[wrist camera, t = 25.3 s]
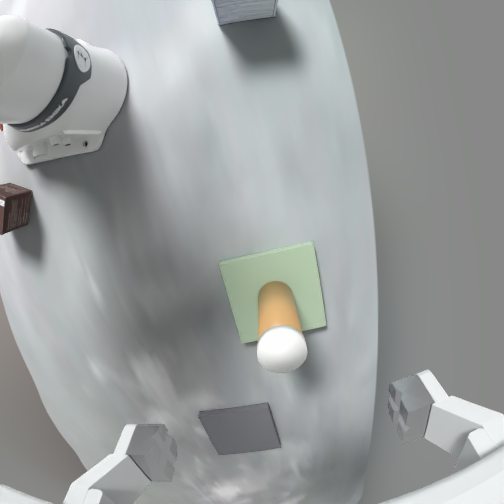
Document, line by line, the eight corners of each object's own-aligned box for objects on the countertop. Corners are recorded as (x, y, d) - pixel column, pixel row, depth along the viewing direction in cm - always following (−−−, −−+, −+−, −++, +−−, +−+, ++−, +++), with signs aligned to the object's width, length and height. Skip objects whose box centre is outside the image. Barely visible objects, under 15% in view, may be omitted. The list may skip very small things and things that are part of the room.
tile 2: (219, 449, 57) (219, 454, 55) (199, 411, 53) (198, 417, 51) (280, 442, 56) (280, 447, 54) (267, 402, 52) (268, 408, 51)
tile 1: (242, 338, 48) (241, 343, 46) (220, 261, 44) (218, 264, 42) (324, 320, 47) (326, 325, 45) (311, 241, 43) (313, 244, 42)
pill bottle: (268, 319, 45) (272, 379, 32) (250, 291, 44) (247, 347, 31) (300, 302, 44) (315, 360, 31) (282, 273, 43) (293, 325, 30)
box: (6, 215, 42) (-21, 224, 35) (10, 181, 40) (-18, 188, 33) (28, 224, 42) (1, 236, 35) (33, 190, 41) (5, 197, 34)
